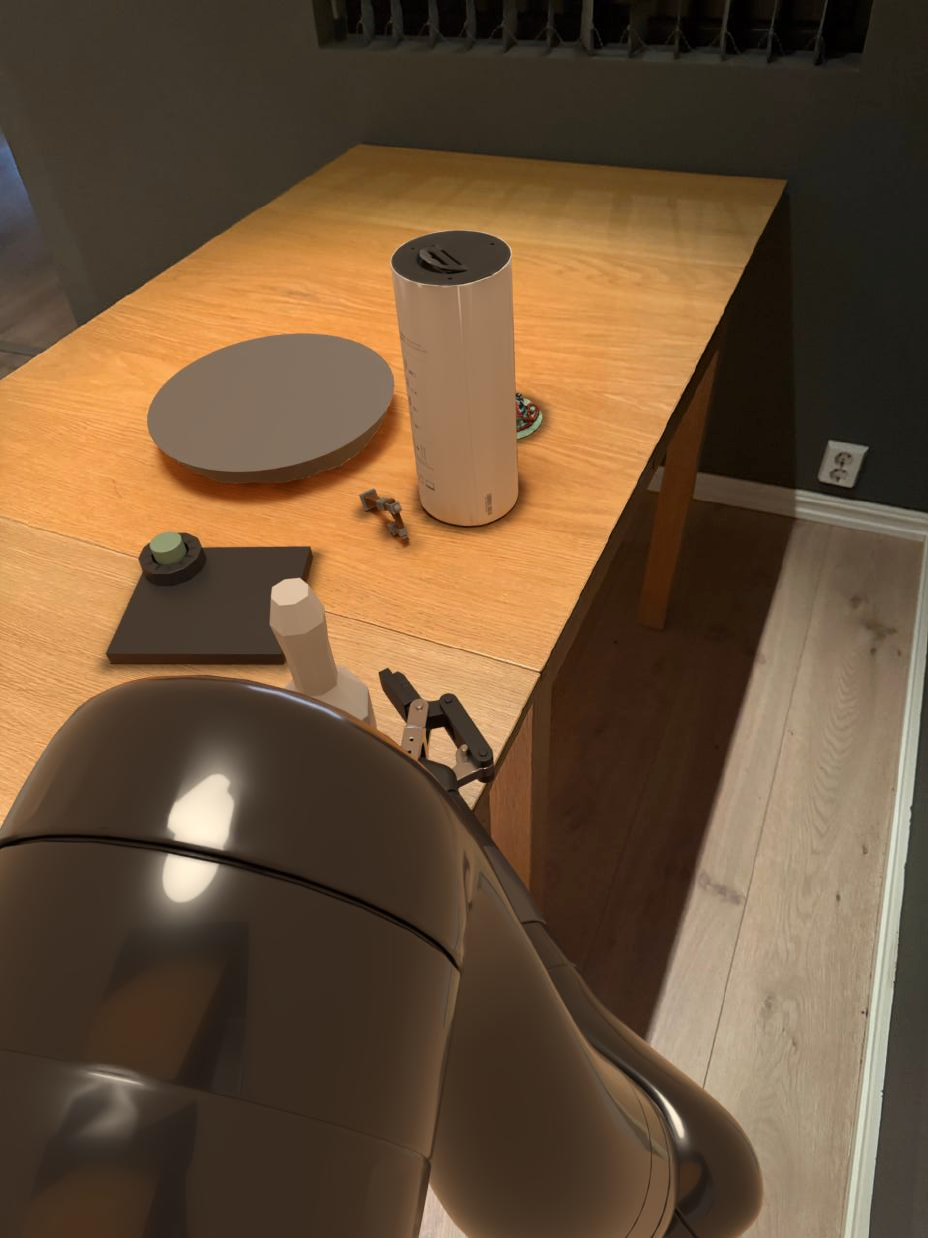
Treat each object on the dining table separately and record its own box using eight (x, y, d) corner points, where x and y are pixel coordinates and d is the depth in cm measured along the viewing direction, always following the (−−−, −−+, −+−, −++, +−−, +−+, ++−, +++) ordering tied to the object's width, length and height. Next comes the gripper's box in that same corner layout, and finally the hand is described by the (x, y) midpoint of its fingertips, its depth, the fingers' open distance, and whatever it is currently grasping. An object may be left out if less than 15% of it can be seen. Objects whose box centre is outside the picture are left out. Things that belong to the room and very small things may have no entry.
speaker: (533, 515, 89) (529, 262, 70) (435, 540, 88) (403, 288, 69) (501, 456, 96) (488, 213, 77) (409, 478, 95) (374, 236, 76)
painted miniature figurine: (498, 370, 104) (511, 363, 96) (540, 414, 105) (556, 411, 98) (451, 419, 104) (460, 416, 97) (493, 462, 106) (506, 463, 98)
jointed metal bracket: (402, 546, 86) (387, 504, 84) (372, 532, 93) (358, 492, 91) (418, 539, 86) (404, 496, 85) (387, 525, 93) (373, 486, 91)
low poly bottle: (300, 777, 69) (225, 575, 53) (376, 747, 71) (325, 542, 55) (324, 842, 65) (250, 645, 49) (404, 809, 67) (357, 608, 51)
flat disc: (110, 482, 98) (95, 449, 95) (237, 354, 116) (228, 322, 113) (335, 525, 90) (327, 490, 87) (434, 380, 108) (431, 347, 105)
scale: (111, 663, 79) (98, 641, 77) (159, 554, 89) (149, 532, 87) (284, 664, 78) (276, 641, 76) (314, 553, 88) (308, 530, 85)
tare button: (151, 566, 84) (145, 552, 83) (160, 544, 86) (154, 531, 85) (181, 565, 84) (176, 552, 82) (190, 544, 86) (185, 530, 85)
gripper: (556, 799, 48) (414, 622, 58) (321, 936, 44) (211, 719, 54) (555, 865, 54) (425, 693, 64) (346, 993, 49) (242, 786, 59)
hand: (327, 705), depth 59 cm, fingers open, 8 cm apart
